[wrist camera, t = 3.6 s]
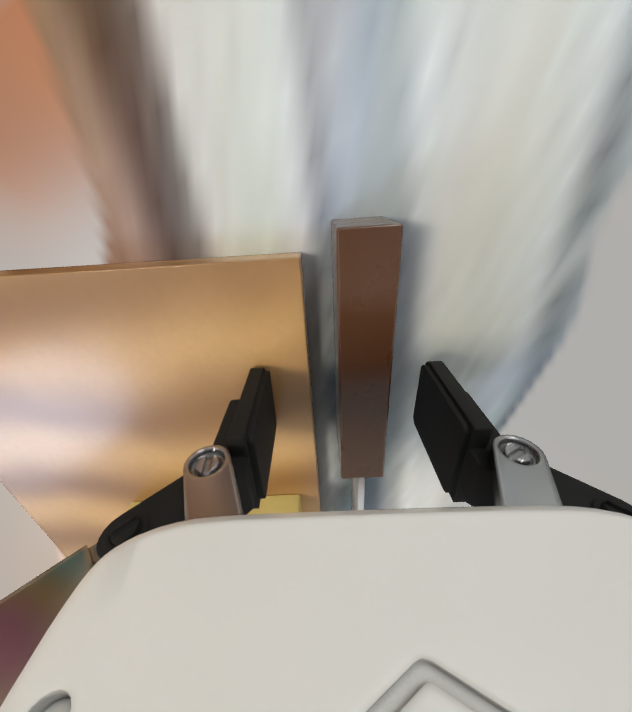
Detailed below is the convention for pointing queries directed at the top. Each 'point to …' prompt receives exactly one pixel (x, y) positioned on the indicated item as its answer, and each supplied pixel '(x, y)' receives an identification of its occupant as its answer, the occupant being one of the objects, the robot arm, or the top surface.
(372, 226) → the knife
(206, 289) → the board
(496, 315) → the top surface
